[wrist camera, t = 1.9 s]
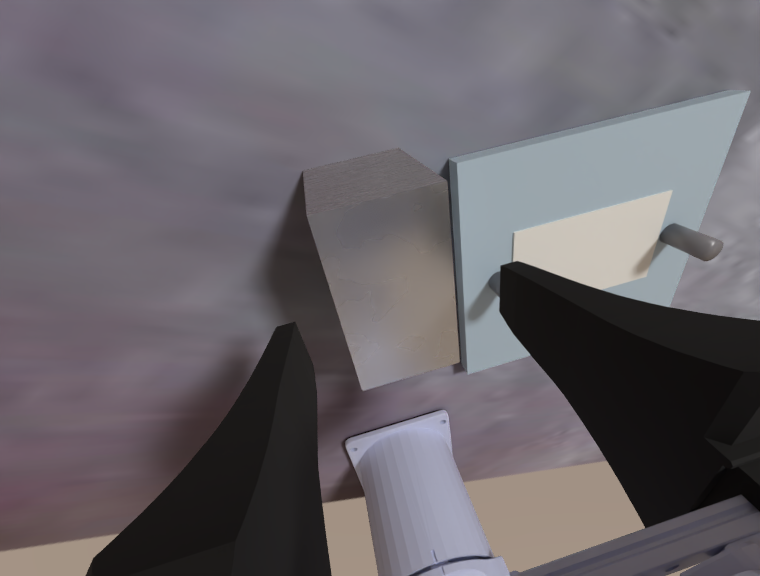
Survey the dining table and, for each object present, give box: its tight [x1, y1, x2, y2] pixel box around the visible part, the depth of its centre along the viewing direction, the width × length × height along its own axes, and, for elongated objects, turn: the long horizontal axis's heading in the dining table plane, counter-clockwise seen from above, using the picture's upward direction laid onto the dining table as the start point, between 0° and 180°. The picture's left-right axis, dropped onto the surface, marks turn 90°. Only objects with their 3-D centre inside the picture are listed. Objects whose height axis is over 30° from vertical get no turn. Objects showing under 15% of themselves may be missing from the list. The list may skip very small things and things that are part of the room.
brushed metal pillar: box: [303, 148, 460, 391], centre depth 15 cm, size 4×8×6 cm, turn 10°
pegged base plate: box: [449, 90, 751, 374], centre depth 19 cm, size 14×15×4 cm
